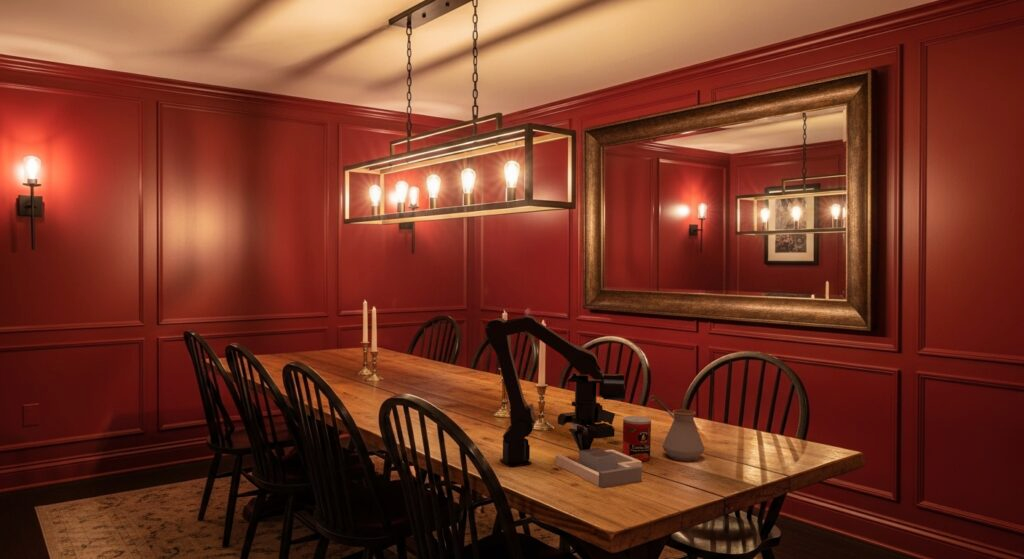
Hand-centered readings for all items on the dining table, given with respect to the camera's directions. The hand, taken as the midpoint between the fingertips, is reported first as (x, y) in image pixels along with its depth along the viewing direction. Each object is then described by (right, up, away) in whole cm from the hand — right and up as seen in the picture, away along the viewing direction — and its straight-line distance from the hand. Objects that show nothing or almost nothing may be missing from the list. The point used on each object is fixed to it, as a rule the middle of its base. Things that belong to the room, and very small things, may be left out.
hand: (584, 456), depth 190 cm
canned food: (+15, -3, +9) cm, 18 cm away
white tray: (+5, -3, -4) cm, 7 cm away
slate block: (+3, -3, -5) cm, 6 cm away
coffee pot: (+27, -3, +15) cm, 31 cm away
